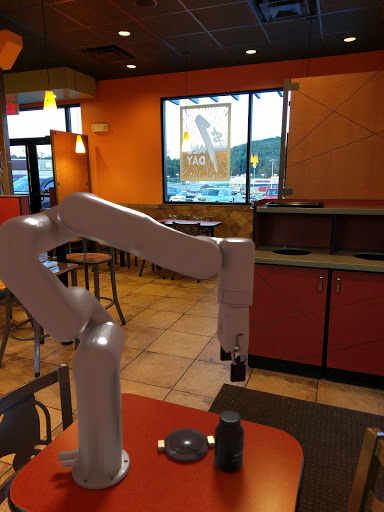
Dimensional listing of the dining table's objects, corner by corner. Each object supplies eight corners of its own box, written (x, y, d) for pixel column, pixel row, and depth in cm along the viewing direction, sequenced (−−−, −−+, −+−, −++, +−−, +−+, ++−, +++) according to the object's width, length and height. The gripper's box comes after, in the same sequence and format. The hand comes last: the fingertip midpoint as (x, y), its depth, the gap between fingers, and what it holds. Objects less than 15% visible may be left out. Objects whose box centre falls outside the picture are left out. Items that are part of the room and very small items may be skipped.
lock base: (159, 464, 83) (159, 459, 83) (157, 433, 94) (157, 429, 93) (218, 459, 85) (218, 454, 85) (209, 429, 96) (209, 425, 95)
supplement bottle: (242, 476, 80) (244, 427, 78) (211, 471, 81) (212, 423, 79) (244, 455, 86) (245, 409, 84) (215, 450, 88) (216, 405, 86)
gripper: (210, 286, 85) (208, 354, 88) (227, 308, 68) (224, 391, 71) (240, 285, 86) (237, 353, 89) (265, 307, 69) (260, 389, 72)
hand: (231, 370), depth 80 cm, fingers open, 9 cm apart
